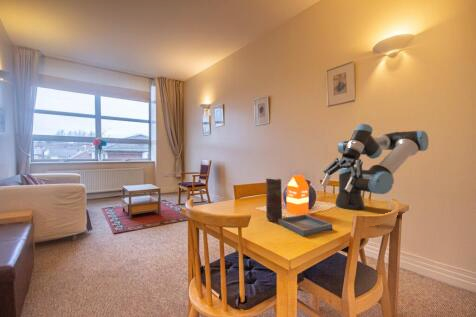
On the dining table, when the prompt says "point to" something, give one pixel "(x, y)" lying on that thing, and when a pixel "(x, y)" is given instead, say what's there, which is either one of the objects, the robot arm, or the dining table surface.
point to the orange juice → (297, 195)
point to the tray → (305, 224)
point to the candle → (273, 199)
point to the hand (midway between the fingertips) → (334, 188)
